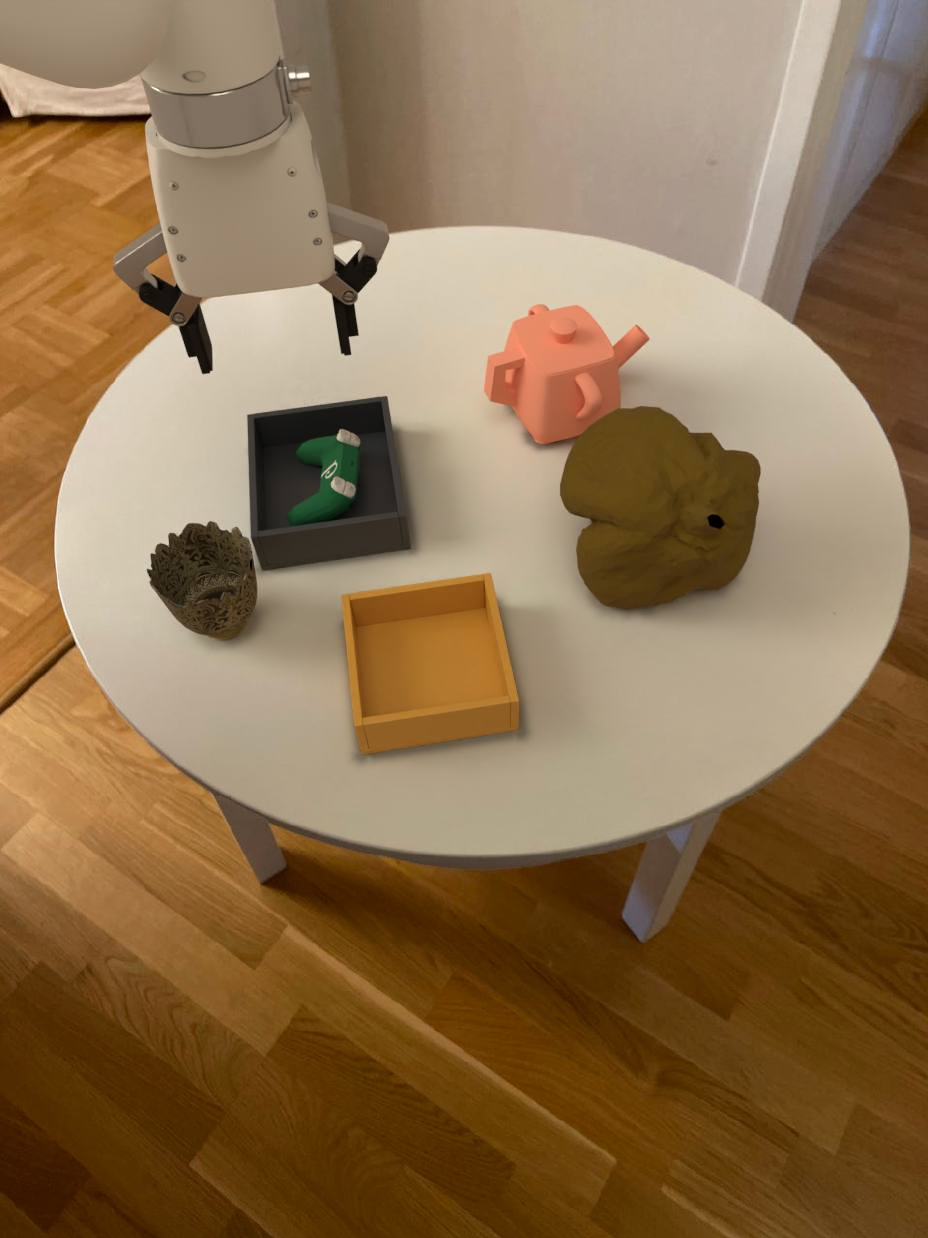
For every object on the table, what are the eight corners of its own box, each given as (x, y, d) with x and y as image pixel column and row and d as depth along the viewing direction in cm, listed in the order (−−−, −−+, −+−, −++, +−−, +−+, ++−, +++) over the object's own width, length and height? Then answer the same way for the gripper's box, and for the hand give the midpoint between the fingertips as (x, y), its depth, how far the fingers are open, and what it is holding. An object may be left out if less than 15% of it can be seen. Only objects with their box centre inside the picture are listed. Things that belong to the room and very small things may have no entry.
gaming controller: (318, 547, 78) (363, 512, 74) (281, 526, 76) (325, 489, 72) (328, 468, 83) (370, 432, 80) (293, 446, 81) (335, 408, 78)
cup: (159, 647, 71) (125, 583, 65) (209, 576, 75) (181, 509, 69) (244, 676, 69) (217, 613, 63) (290, 602, 73) (269, 535, 67)
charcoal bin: (261, 570, 75) (250, 537, 72) (257, 448, 84) (246, 414, 80) (411, 549, 76) (406, 515, 73) (392, 430, 84) (387, 395, 81)
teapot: (644, 391, 86) (658, 301, 78) (591, 474, 80) (600, 386, 72) (532, 355, 90) (534, 265, 82) (473, 432, 84) (470, 343, 76)
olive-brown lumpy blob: (699, 658, 69) (739, 532, 57) (527, 585, 73) (533, 455, 62) (761, 534, 76) (808, 400, 64) (601, 475, 80) (618, 340, 69)
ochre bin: (361, 755, 65) (354, 726, 62) (348, 626, 72) (340, 594, 68) (518, 730, 66) (519, 700, 63) (491, 605, 72) (490, 572, 69)
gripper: (366, 52, 54) (392, 304, 68) (64, 83, 53) (153, 335, 67) (381, 113, 50) (405, 370, 64) (52, 149, 49) (150, 404, 62)
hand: (276, 352), depth 65 cm, fingers open, 9 cm apart
